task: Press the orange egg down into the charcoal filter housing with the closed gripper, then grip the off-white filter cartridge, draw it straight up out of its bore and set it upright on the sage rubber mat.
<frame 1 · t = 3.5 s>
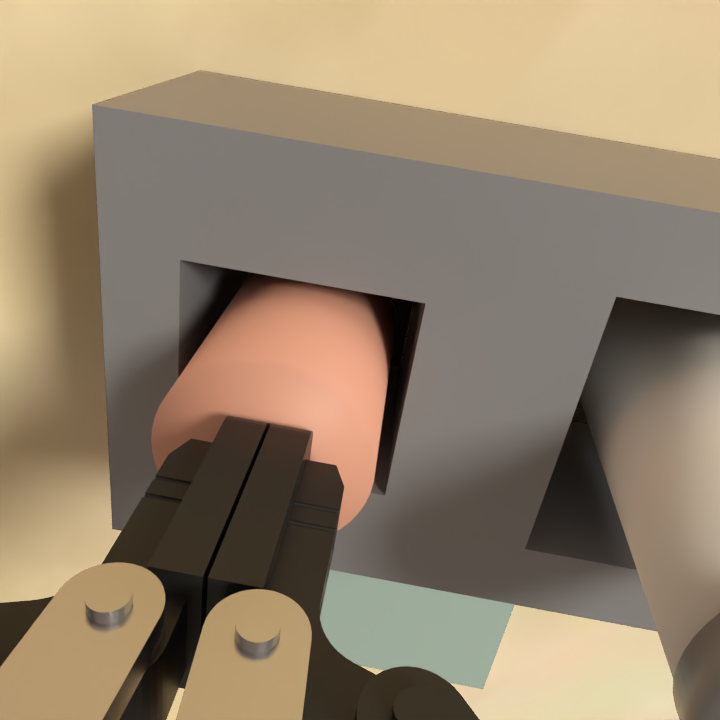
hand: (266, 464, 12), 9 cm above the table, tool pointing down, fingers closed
housing: (504, 310, 19), on the table
cartridge: (643, 335, 19), resting in housing
orange egg: (294, 376, 14), point 6 cm above the table, slide at 0.5 cm, touching gripper
mat: (375, 571, 25), on the table
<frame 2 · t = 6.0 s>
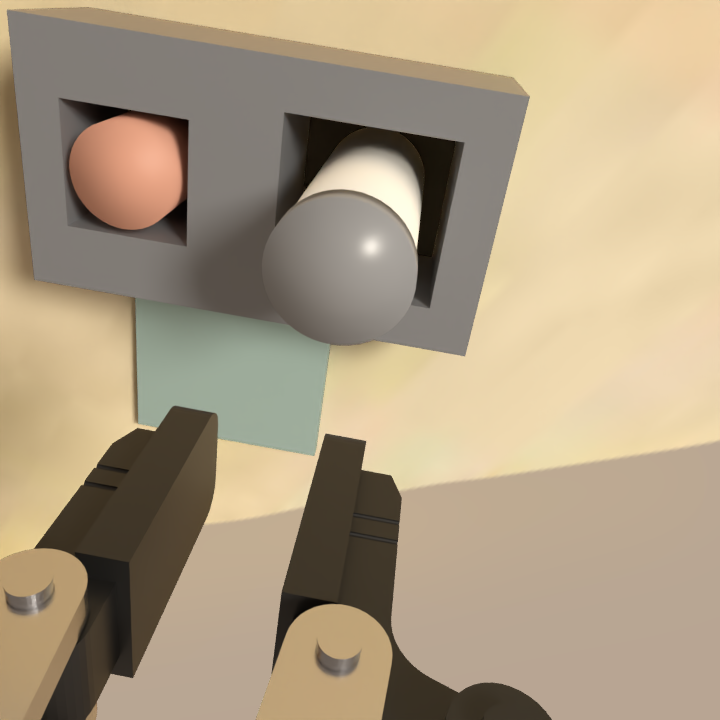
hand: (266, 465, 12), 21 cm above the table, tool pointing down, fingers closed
housing: (288, 163, 30), on the table
cartridge: (375, 177, 30), resting in housing
orange egg: (152, 160, 28), point 3 cm above the table, slide at 2.7 cm
mat: (232, 364, 36), on the table
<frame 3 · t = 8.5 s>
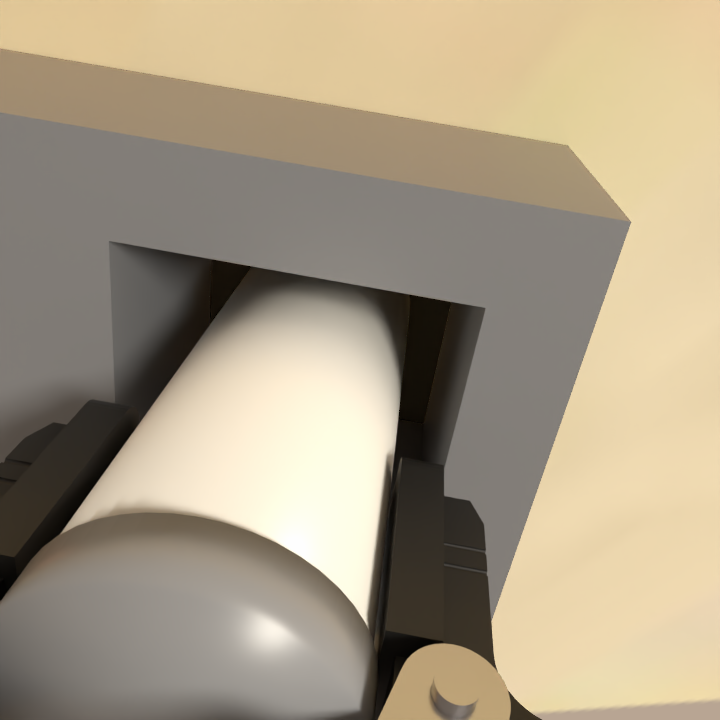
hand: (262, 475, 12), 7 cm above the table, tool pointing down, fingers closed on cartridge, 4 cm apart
housing: (181, 278, 18), on the table
cartridge: (327, 304, 18), resting in housing, touching gripper
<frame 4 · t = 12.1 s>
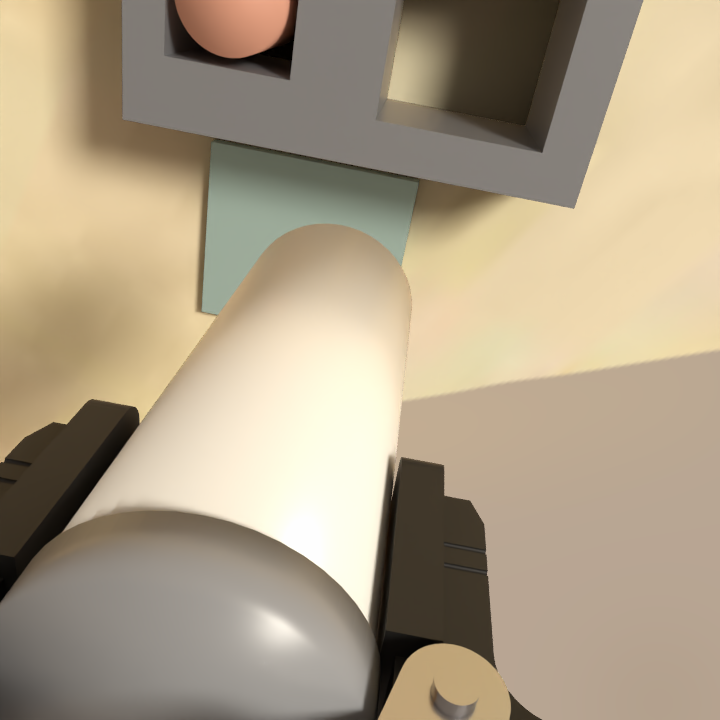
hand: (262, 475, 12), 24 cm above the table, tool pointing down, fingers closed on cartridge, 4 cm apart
housing: (382, 17, 29), on the table
cartridge: (329, 303, 18), point 16 cm above the table, touching gripper
mat: (305, 247, 34), on the table
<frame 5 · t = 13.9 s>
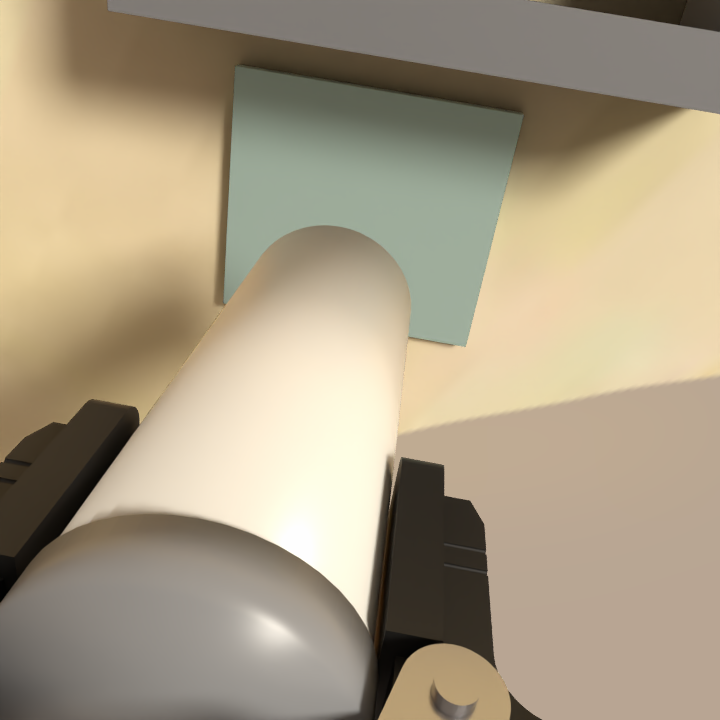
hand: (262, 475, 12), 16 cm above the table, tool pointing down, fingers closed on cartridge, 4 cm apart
cartridge: (328, 305, 18), point 9 cm above the table, touching gripper
mat: (361, 213, 26), on the table
when the fingers open (9 cm above the table, at t = 15.5 s): cartridge drops 1 cm, resting on mat.
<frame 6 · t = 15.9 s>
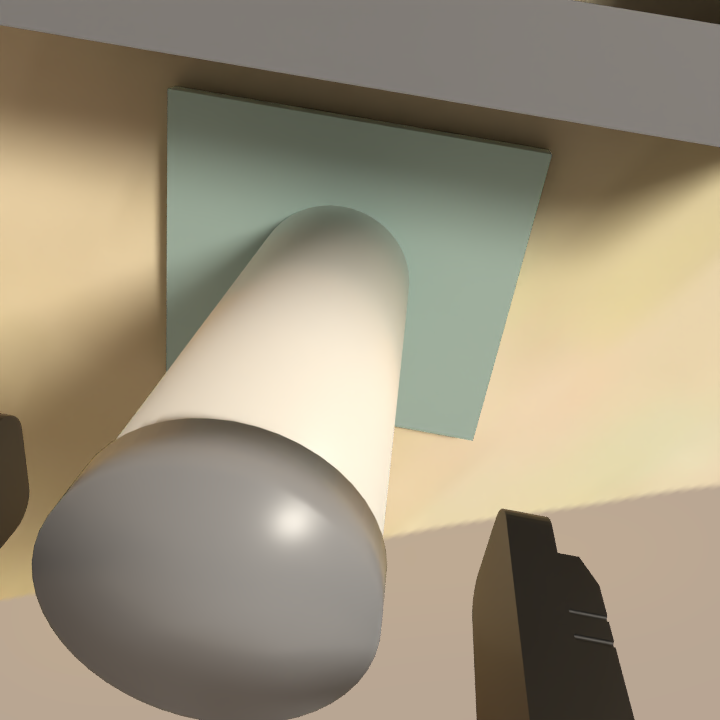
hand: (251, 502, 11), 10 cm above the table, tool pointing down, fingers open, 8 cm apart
cartridge: (332, 281, 19), point 1 cm above the table, touching mat
mat: (339, 275, 20), on the table
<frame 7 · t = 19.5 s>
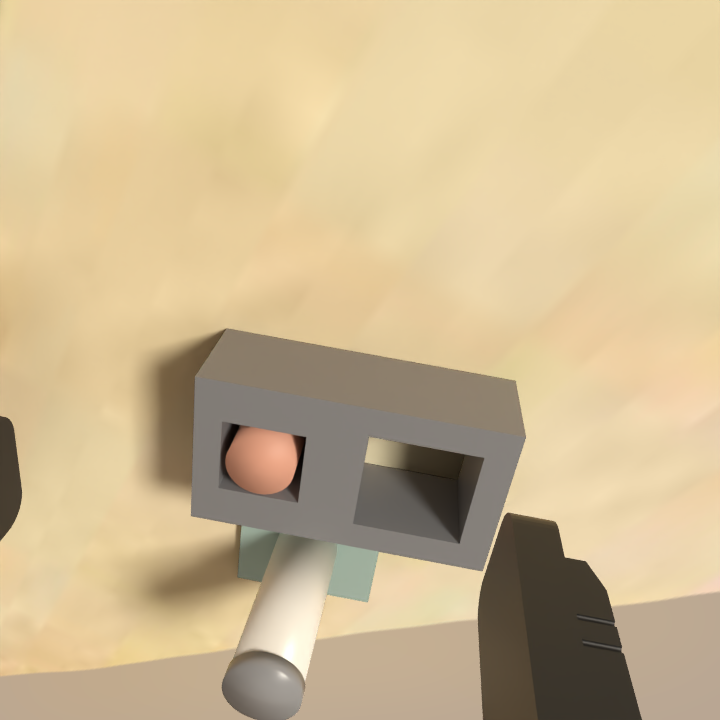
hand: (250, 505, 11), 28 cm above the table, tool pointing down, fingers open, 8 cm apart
housing: (358, 421, 44), on the table
cartridge: (307, 546, 48), point 1 cm above the table, touching mat
orange egg: (271, 436, 41), point 3 cm above the table, slide at 2.7 cm
mat: (310, 540, 49), on the table
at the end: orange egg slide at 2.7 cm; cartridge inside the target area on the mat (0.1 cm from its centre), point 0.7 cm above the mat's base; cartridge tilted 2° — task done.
